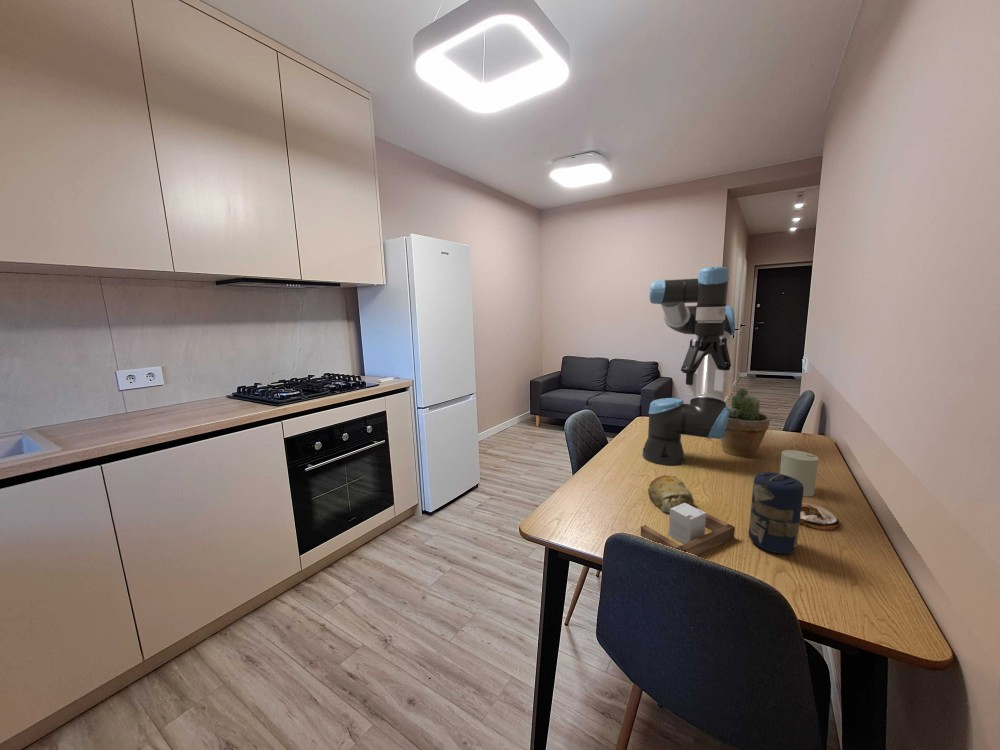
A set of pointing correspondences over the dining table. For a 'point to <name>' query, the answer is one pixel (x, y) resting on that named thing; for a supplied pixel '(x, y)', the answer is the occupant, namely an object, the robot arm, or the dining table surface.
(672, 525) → the skincare box
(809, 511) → the sushi roll
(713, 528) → the bay
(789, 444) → the dining table surface
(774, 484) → the canister
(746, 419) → the potted plant
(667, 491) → the pastry
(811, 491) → the can
